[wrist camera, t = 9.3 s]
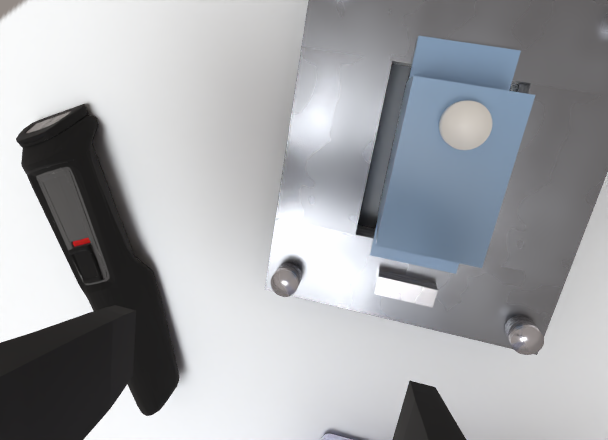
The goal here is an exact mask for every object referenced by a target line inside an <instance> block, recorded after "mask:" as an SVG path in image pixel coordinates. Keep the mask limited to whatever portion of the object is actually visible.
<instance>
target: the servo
mask: <svg viewBox="0 0 608 440" xmlns="http://www.w3.org/2000/svg"><path fill="white" fill-rule="evenodd" d="M520 52H521V51H520V50H513V49H507V48H500V47H493V46H486V45H479V44H472V43H466V42H459V41H452V40H445V39H438V38H432V37H425V36H418V39H417V43H416V48H415V52H414V57H413V61H412V66H411V70H410V75H409V79H408V81H407V82H406V87H405V91H404V96H403V100H402V105H401V109H400V114H399V119H398V123H397V128H396V132H395V137H394V141H393V146H392V150H391V155H390V159H389V164H388V168H387V173H386V177H385V182H384V187H383V191H382V196H381V200H380V205H379V210H378V219H377V224H376V228H375V233H374V238H373V242H372V247H371V251H370V255H371V256H376V257H380V258H385V259H389V260H394V261H399V262H403V263H408V264H413V265H417V266H422V267H426V268H431V269H436V270H440V271H445V272H450V273H454V274H456V272H457V269H458V265H459V263H460V264H465V265H470V266H474V267H479V268H482V266H483V263H484V260H485V257H486V253H487V250H488V247H489V244H490V240H491V237H492V234H493V231H494V227H495V224H496V221H497V218H498V215H499V211H500V208H501V205H502V202H503V198H504V195H505V192H506V189H507V185H508V182H509V179H510V176H511V173H512V169H513V166H514V163H515V160H516V156H517V153H518V150H519V147H520V144H521V140H522V137H523V134H524V131H525V127H526V124H527V121H528V118H529V114H530V111H531V108H532V105H533V102H534V98H535V95H532V94H526V93H520V92H513V91H509V90H510V87H511V83H512V80H513V76H514V73H515V69H516V66H517V63H518V59H519V56H520Z"/></svg>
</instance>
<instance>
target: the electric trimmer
mask: <svg viewBox="0 0 608 440" xmlns="http://www.w3.org/2000/svg"><path fill="white" fill-rule="evenodd" d="M87 113H88V111H87V109H86V107H85V104H83V105H80V106H77V107H74V108H72V109H69V110H66V111H63V112H61V113H58V114H55V115H52V116H49V117H47V118H44V119H41V120H39V121H36V122H34V123H32V124H30V125H29V126H27V127H26V128H24V129H23V131H22V132H21V133H20V134H19V135H18V137H17V138H16V140H17V142H18V143H19V144H20V146H21V147H23V152H22V163H21V164H22V167H23V169H24V171H25V173H26V174H27V176H28V179H29V181H30V183H31V185H32V188H33V190H34V192H35V194H36V196H37V198H38V200H39V202H40V204H41V206H42V208H43V210H44V213H45V215H46V217H47V219H48V221H49V223H50V225H51V227H52V229H53V231H54V233H55V236H56V238H57V240H58V242H59V244H60V246H61V248H62V250H63V252H64V254H65V256H66V259H67V261H68V263H69V265H70V267H71V269H72V271H73V273H74V275H75V277H76V279H77V282H78V284H79V286H80V287H81V289H82V290H83V292H84V293H85V295H86V297H87V298H88V300H89V302H90V304H91V306H92V309H93V311H97V310H100V309H103V308H106V307H110V306H114V305H117V306H121V307H125V308H129V309H132V310H136V324H135V344H134V363H133V376H132V377H131V379H130V380H129V382H128V383H127V384H128V386H129V388H130V391H131V393H132V395H133V397H134V399H135V401H136V403H137V406H138V407H139V409H140V411H141V412H142V413H143V414H144V415H146V416H150V415H153V414H154V413H156V412H158V411H159V410H160V409H161V408H162V407H163V405H164V404H165V403H166V401H167V400H168V399H169V397H170V396H171V394H172V393H173V391H174V390H175V388H176V387H177V384H178V381H179V373H178V368H177V364H176V360H175V355H174V351H173V347H172V343H171V339H170V335H169V331H168V327H167V322H166V318H165V314H164V310H163V306H162V302H161V298H160V295H159V291H158V287H157V284H156V280H155V276H154V274H153V272H152V270H151V269H150V268H149V267H147V266H146V265H145V264H144V263H142V262H141V261H140V260H138V259H137V258H136V257H134V254H133V251H132V249H131V246H130V243H129V241H128V238H127V235H126V233H125V230H124V227H123V225H122V222H121V219H120V217H119V214H118V211H117V209H116V206H115V203H114V201H113V198H112V195H111V193H110V190H109V187H108V185H107V182H106V179H105V177H104V174H103V171H102V169H101V166H100V163H99V161H98V158H97V156H96V153H95V150H94V148H93V145H92V140H93V137H94V134H95V132H96V129H97V127H98V122H97V118H96V117H94V116H90V115H87ZM57 134H58V135H57ZM55 135H56V136H55ZM53 136H54V137H53ZM51 137H52V138H51ZM44 140H45V141H44Z"/></svg>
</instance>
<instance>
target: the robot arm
mask: <svg viewBox="0 0 608 440" xmlns="http://www.w3.org/2000/svg"><path fill="white" fill-rule="evenodd" d="M135 324H136V310H132V309H129V308H125V307H121V306H117V305H114V306H110V307H106V308H103V309H100V310H97V311H94V312H91V313H88V314H85V315H82V316H79V317H76V318H73V319H70V320H68V321H65V322H62V323H59V324H56V325H53V326H50V327H48V328H45V329H42V330H39V331H36V332H33V333H30V334H27V335H24V336H21V337H17V338H14V339H11V340H8V341H5V342H1V343H0V440H83V439H84V438H85V437H86V436H87V435H88V434H89V432H90V431H91V430H92V429H93V428H94V427H95V426H96V424H97V423H98V422H99V421H100V420H101V419H102V418H103V416H104V415H105V414H106V413H107V412H108V411H109V409H110V408H111V407H112V405H113V404H114V402H115V401H116V400H117V398H118V397H119V395H120V394H121V393H122V391H123V389H124V388H125V386H126V385H127V383H128V382H129V380H130V379H131V377H132V376H133V363H134V344H135ZM321 440H352V439H348V438H345V437H341V436H338V435H334V434H325V435H324V436H323V437H322V439H321ZM393 440H466V438H465V437H464V435H463V433H462V432H461V430H460V428H459V427H458V425H457V423H456V422H455V420H454V418H453V417H452V415H451V413H450V412H449V410H448V408H447V406H446V405H445V403H444V401H443V399H442V398H441V396H440V394H439V393H438V391H437V389H436V388H435V387H432V386H428V385H424V384H421V383H417V382H413V381H409V385H408V388H407V392H406V395H405V399H404V402H403V406H402V409H401V413H400V416H399V420H398V423H397V427H396V430H395V434H394V437H393Z"/></svg>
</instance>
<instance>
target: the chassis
mask: <svg viewBox="0 0 608 440" xmlns="http://www.w3.org/2000/svg"><path fill="white" fill-rule="evenodd" d="M418 36H425V37H432V38H438V39H445V40H452V41H459V42H466V43H472V44H479V45H486V46H493V47H500V48H507V49H513V50H520V51H521V52H520V56H519V59H518V63H517V66H516V69H515V73H514V76H513V80H512V83H513V84H519V86H518V89H517V92H520V93H526V94H532V95H535V98H534V102H533V105H532V108H531V111H530V114H529V118H528V121H527V124H526V127H525V131H524V134H523V137H522V140H521V144H520V147H519V150H518V153H517V156H516V160H515V163H514V166H513V169H512V173H511V176H510V179H509V182H508V185H507V189H506V192H505V195H504V198H503V202H502V205H501V208H500V211H499V215H498V218H497V221H496V224H495V227H494V231H493V234H492V237H491V240H490V244H489V247H488V250H487V253H486V257H485V260H484V263H483V266H482V268H479V267H474V266H470V265H465V264H460V263H459V265H458V269H457V272H456V274H454V273H450V272H445V271H440V270H436V269H431V268H426V267H422V266H417V265H413V264H408V263H403V262H399V261H394V260H389V259H385V258H380V257H376V256H371V255H370V251H371V247H372V242H373V238H374V233H375V228H370V227H366V226H361V225H358V220H359V216H360V211H361V206H362V202H363V197H364V192H365V188H366V183H367V178H368V174H369V169H370V164H371V160H372V155H373V150H374V146H375V141H376V136H377V132H378V127H379V122H380V118H381V113H382V108H383V103H384V99H385V94H386V89H387V85H388V80H389V75H390V71H391V66H392V64H396V65H402V66H409V67H411V66H412V61H413V57H414V52H415V48H416V43H417V39H418ZM607 172H608V0H309V2H308V9H307V15H306V22H305V28H304V35H303V42H302V48H301V55H300V61H299V68H298V74H297V81H296V88H295V94H294V101H293V107H292V114H291V121H290V127H289V134H288V140H287V147H286V153H285V160H284V167H283V173H282V180H281V186H280V193H279V200H278V206H277V213H276V219H275V226H274V233H273V239H272V246H271V252H270V259H269V265H268V272H267V279H266V285H265V290H269V291H274V292H275V293H276V294H278V295H280V296H283V297H288V296H294V297H299V298H303V299H307V300H311V301H315V302H319V303H324V304H328V305H332V306H336V307H340V308H344V309H349V310H353V311H357V312H361V313H365V314H369V315H374V316H378V317H382V318H386V319H390V320H394V321H399V322H403V323H407V324H411V325H415V326H419V327H424V328H428V329H432V330H436V331H440V332H444V333H449V334H453V335H457V336H461V337H465V338H469V339H474V340H478V341H482V342H486V343H490V344H494V345H499V346H503V347H507V348H511V349H514V350H515V351H517V352H518V353H520V354H524V355H530V354H536V355H537V354H538V351H539V350H540V349H541V348H542V346H543V344H544V335H545V333H546V330H547V328H548V325H549V322H550V320H551V317H552V315H553V312H554V309H555V307H556V304H557V302H558V299H559V296H560V294H561V291H562V289H563V286H564V283H565V281H566V278H567V276H568V273H569V270H570V268H571V265H572V263H573V260H574V257H575V255H576V252H577V250H578V247H579V245H580V242H581V239H582V237H583V234H584V232H585V229H586V226H587V224H588V221H589V219H590V216H591V213H592V211H593V208H594V206H595V203H596V200H597V198H598V195H599V193H600V190H601V187H602V185H603V182H604V180H605V177H606V174H607Z"/></svg>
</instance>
